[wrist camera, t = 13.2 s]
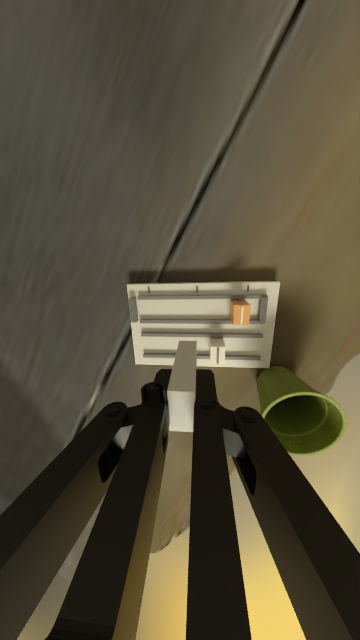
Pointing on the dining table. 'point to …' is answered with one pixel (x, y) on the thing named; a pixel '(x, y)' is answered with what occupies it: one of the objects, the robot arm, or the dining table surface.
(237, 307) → the fader knob
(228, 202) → the dining table surface
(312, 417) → the plant pot
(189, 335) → the fader panel
